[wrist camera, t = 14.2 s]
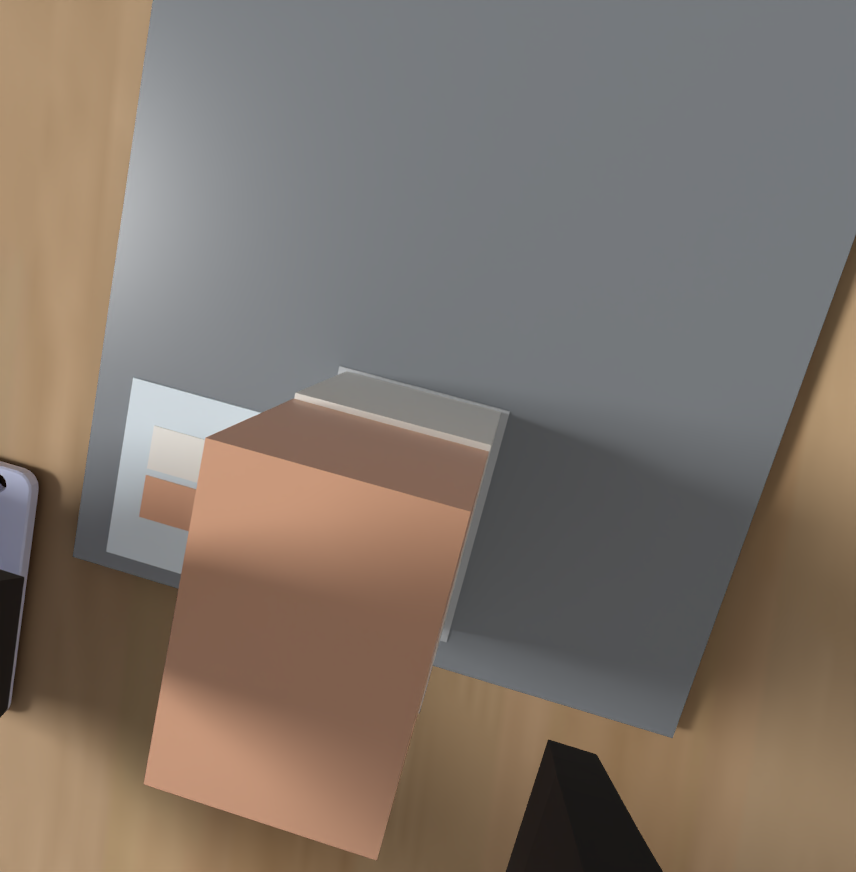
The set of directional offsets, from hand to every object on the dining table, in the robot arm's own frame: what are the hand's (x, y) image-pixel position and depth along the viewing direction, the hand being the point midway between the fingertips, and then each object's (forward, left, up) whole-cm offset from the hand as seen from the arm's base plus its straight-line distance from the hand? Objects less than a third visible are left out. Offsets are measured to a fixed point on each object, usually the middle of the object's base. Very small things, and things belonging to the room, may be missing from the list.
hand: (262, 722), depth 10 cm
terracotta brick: (0, 0, -6) cm, 6 cm away
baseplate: (0, +6, -10) cm, 12 cm away
